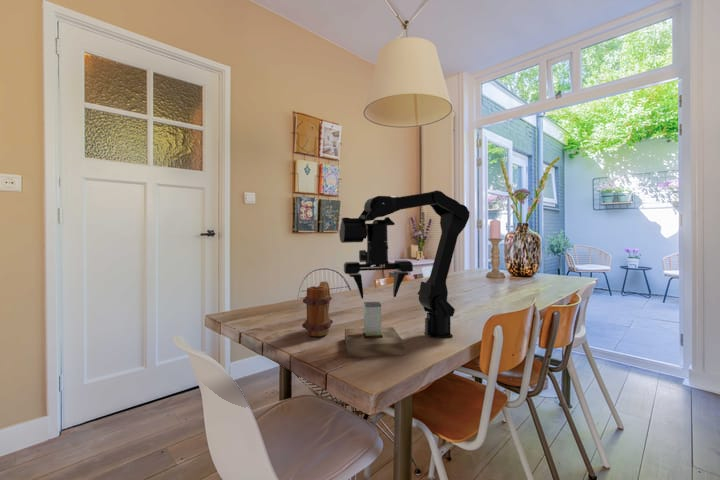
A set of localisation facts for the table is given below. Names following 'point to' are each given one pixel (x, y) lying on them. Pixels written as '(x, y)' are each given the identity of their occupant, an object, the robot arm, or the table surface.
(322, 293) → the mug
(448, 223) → the robot arm
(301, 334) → the table surface
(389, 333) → the stand block
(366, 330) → the column
